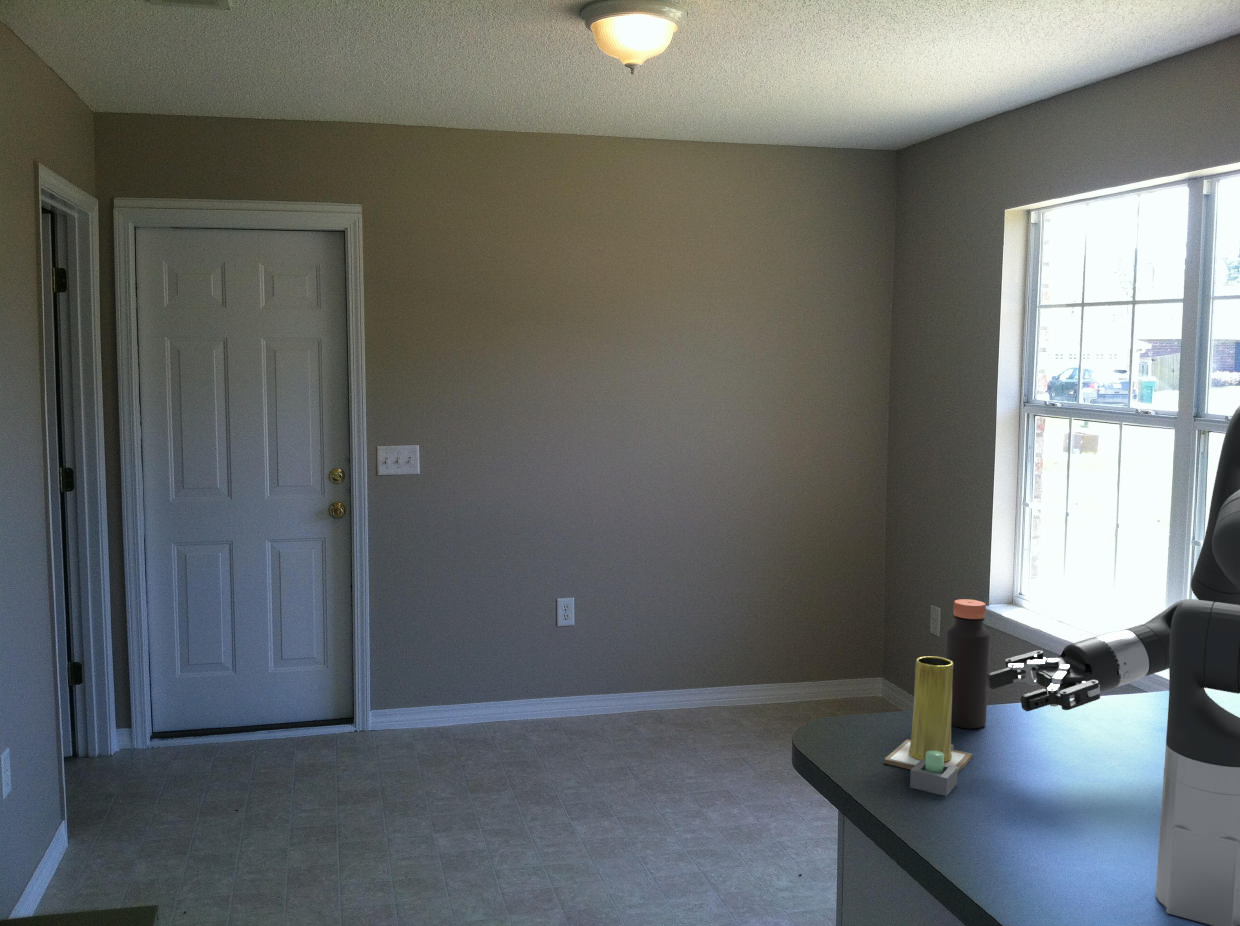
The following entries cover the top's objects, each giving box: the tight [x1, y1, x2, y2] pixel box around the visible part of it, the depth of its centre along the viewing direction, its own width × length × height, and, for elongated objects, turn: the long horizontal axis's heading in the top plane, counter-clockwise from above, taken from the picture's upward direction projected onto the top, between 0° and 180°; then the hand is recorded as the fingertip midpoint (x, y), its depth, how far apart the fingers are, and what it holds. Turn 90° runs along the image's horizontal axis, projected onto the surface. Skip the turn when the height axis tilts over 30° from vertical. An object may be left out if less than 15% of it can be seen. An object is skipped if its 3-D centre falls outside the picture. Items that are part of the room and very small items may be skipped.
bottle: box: [944, 598, 991, 730], centre depth 170 cm, size 7×7×20 cm
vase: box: [909, 655, 953, 762], centre depth 153 cm, size 6×6×14 cm
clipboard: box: [883, 739, 974, 774], centre depth 154 cm, size 10×10×1 cm
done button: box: [925, 750, 944, 774], centre depth 144 cm, size 2×2×3 cm
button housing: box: [909, 759, 959, 797], centre depth 144 cm, size 5×5×2 cm
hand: (1005, 692), depth 148 cm, fingers open, 8 cm apart
